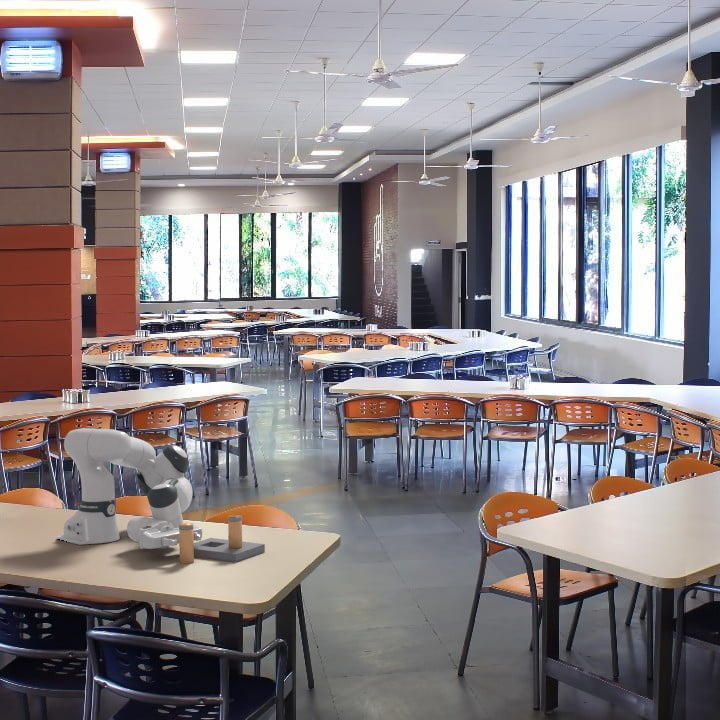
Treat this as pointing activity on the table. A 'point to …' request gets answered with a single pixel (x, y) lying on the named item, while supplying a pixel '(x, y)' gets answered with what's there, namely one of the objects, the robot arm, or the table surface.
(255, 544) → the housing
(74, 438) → the robot arm
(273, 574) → the table surface
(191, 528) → the orange banded cylinder
